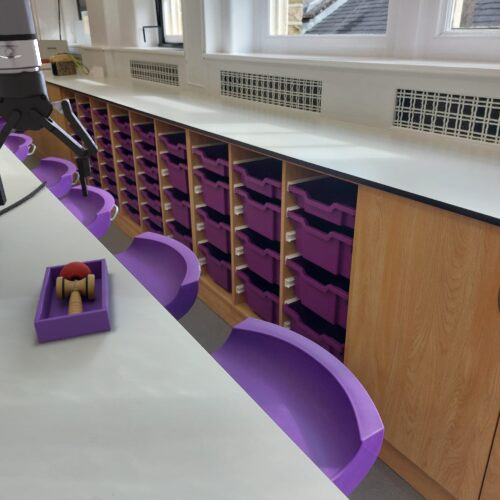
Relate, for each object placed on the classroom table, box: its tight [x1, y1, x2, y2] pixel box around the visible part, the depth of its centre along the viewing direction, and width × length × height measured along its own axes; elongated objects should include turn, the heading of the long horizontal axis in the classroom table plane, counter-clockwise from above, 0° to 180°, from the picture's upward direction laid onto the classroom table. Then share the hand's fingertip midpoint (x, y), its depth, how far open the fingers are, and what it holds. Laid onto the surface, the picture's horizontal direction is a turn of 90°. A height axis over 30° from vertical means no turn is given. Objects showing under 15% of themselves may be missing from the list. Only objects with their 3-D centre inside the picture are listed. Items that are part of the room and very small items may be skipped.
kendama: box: [56, 261, 95, 315], centre depth 91 cm, size 8×6×18 cm
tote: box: [33, 258, 112, 344], centre depth 91 cm, size 22×12×5 cm, turn 16°
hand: (45, 198), depth 85 cm, fingers open, 13 cm apart
